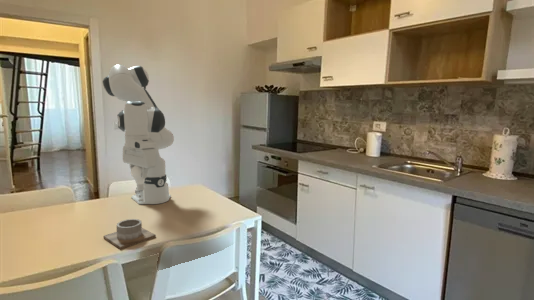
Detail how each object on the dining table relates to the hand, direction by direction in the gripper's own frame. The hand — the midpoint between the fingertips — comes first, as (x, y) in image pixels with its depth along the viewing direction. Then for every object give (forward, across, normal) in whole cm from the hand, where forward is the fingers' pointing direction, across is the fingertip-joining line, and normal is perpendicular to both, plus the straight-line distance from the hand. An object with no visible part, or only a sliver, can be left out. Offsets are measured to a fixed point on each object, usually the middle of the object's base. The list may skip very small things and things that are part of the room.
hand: (139, 176), depth 121 cm
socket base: (+24, +1, -6) cm, 24 cm away
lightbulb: (+6, 0, 0) cm, 6 cm away
